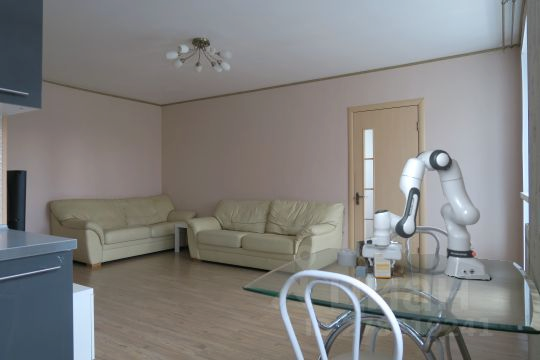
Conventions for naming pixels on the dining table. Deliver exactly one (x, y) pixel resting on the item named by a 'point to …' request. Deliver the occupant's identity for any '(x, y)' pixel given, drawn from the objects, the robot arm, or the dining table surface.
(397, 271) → the walnut block
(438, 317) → the dining table surface
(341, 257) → the lumpy-topped squat cylinder
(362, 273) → the slate block
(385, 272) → the supplement box
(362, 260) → the coffee box
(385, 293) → the dining table surface
